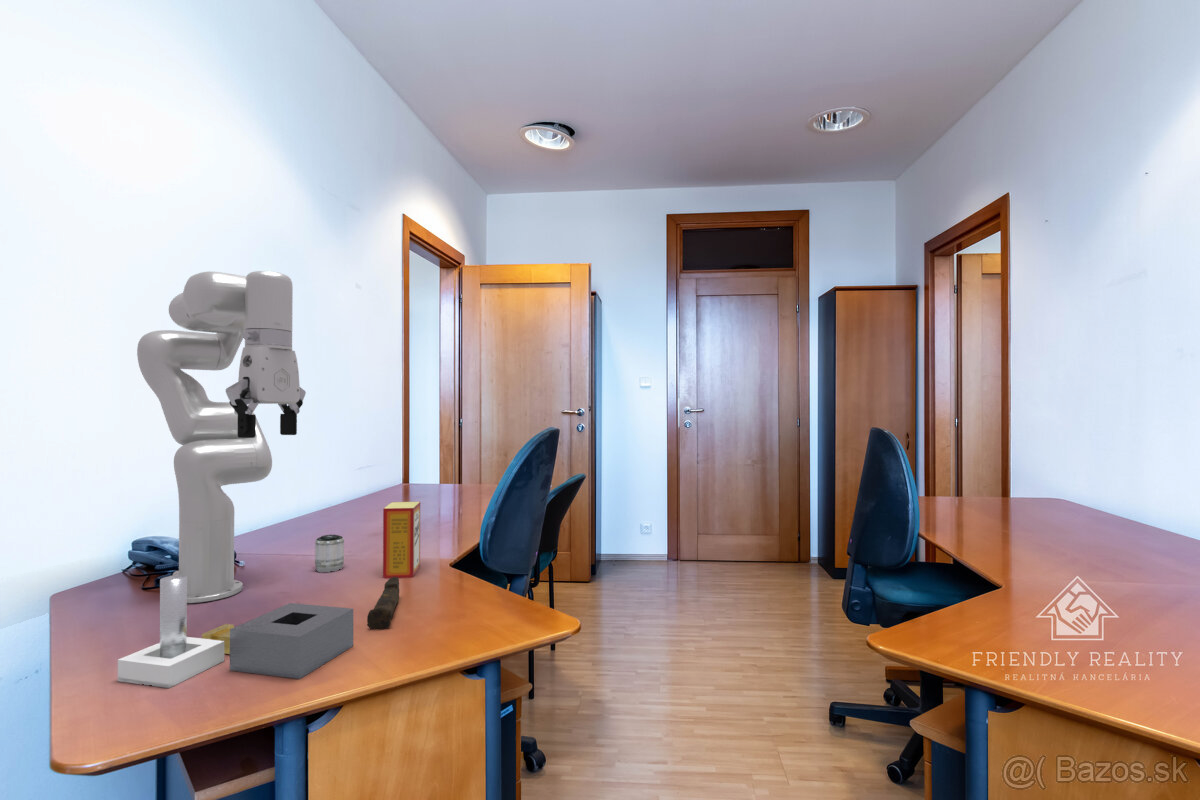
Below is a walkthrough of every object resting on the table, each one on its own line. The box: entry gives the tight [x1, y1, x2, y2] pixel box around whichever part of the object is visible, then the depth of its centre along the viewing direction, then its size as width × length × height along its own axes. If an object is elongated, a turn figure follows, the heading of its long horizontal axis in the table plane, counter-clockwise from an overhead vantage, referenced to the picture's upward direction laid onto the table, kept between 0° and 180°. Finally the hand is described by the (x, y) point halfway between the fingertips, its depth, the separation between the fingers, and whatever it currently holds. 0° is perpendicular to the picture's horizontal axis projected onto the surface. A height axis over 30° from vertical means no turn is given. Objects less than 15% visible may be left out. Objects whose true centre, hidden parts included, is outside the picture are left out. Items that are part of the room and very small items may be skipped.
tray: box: [117, 636, 225, 689], centre depth 87 cm, size 9×9×3 cm
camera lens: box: [314, 534, 345, 573], centre depth 141 cm, size 6×6×8 cm
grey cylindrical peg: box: [159, 575, 188, 659], centre depth 87 cm, size 3×3×13 cm
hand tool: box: [366, 577, 400, 630], centre depth 112 cm, size 19×4×5 cm, turn 8°
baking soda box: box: [382, 501, 421, 579], centre depth 139 cm, size 10×6×16 cm
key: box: [201, 623, 235, 655], centre depth 94 cm, size 13×4×3 cm, turn 77°
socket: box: [229, 602, 354, 680], centre depth 92 cm, size 12×12×6 cm
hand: (268, 436), depth 107 cm, fingers open, 9 cm apart
